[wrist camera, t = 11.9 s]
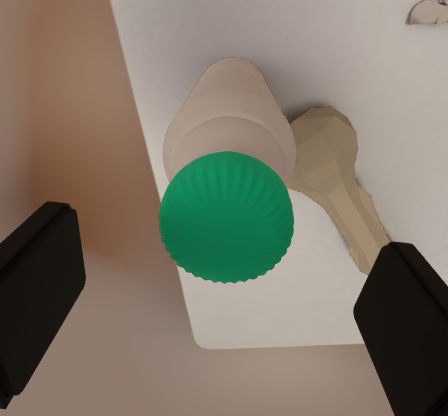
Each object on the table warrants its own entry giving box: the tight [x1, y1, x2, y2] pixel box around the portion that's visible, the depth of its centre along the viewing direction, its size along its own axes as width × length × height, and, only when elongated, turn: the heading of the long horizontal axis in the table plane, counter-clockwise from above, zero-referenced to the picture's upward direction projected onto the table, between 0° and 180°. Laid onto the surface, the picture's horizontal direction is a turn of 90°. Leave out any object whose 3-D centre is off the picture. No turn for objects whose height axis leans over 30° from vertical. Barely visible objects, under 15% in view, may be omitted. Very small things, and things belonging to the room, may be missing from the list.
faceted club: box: [287, 106, 392, 275], centre depth 34 cm, size 9×8×25 cm
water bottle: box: [159, 58, 296, 284], centre depth 21 cm, size 7×7×25 cm
